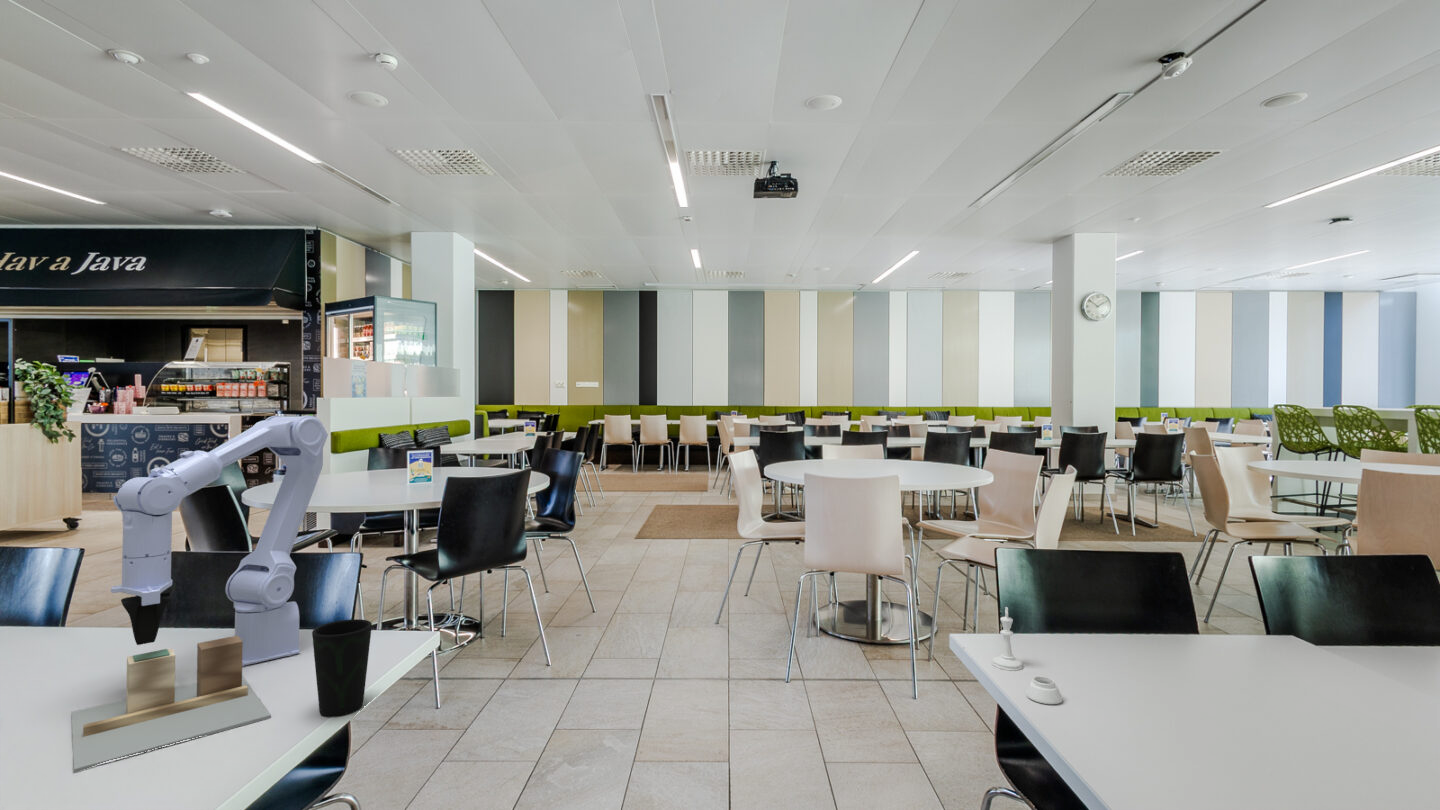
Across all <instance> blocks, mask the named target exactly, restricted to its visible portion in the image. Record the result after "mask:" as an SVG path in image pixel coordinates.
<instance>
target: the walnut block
mask: <svg viewBox="0 0 1440 810" xmlns="http://www.w3.org/2000/svg"><path fill="white" fill-rule="evenodd" d="M196 645H197V647H196V648H197V649H196V650H197V652H196V653H197V654H196V656H197V657H196V661H197V662H196V664H197V665H196V683H197V697H200V696H204V695H208V694H212V693H216V692H221V691H225V690H229V689H233V688H237V687H241V686H242V675H243V666H242V645H243V641H242V640H241V639H240V638H239V637H238V635H237V636H235V635H234V636H233V635H231V636H227V637H223V638H218V639H211V640H208V641H203V642H197V644H196Z"/></svg>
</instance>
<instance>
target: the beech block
mask: <svg viewBox="0 0 1440 810" xmlns="http://www.w3.org/2000/svg"><path fill="white" fill-rule="evenodd" d="M125 687H126V689H125V691H126V693H125V694H126V695H125V696H126V697H125V699H126V714H130V713H134V712H138V711H142V710H146V709H151V708H155V707H159V706H163V705H167V704H171V703H175V688H176V653H175V652H174V649H173V648H165V649H164V648H163V649H159V650H155V651H150V652H145V653H140V654H133V655H132V656H127V657H126V686H125Z"/></svg>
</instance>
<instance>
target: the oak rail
mask: <svg viewBox="0 0 1440 810" xmlns="http://www.w3.org/2000/svg"><path fill="white" fill-rule="evenodd" d="M247 695H248V687H247V686H246V685H245V686H241V687H237V688H233V689H229V690H225V691H221V692H216V693H212V694H208V695H204V696H200V697H196V698H192V699H188V700H184V701H179V702H175V703H171V704H167V705H163V706H159V707H155V708H151V709H146V710H142V711H138V712H134V713H130V714H126V715H122V716H118V717H114V718H109V719H105V720H101V721H97V722H93V723H89V724H85V725H83V737H85V736H89V735H93V734H97V733H101V732H105V731H109V730H113V729H117V728H120V727H124V726H128V725H132V724H136V723H140V722H144V721H148V720H152V719H156V718H160V717H164V716H168V715H172V714H176V713H180V712H184V711H188V710H192V709H196V708H200V707H204V706H208V705H212V704H215V703H219V702H223V701H227V700H231V699H235V698H239V697H243V696H247Z"/></svg>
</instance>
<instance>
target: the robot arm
mask: <svg viewBox="0 0 1440 810" xmlns="http://www.w3.org/2000/svg"><path fill="white" fill-rule="evenodd" d="M328 435H329V434H328V432H327V430H326V429H325V426H324V424H323V423H322V421H321V420H320V419H319V418H318V417H316V416H314V415H303V416H302V415H301V416H299V415H298V416H283V415H282V416H281V415H272V416H269V417H267V418H266V419H265V420H264V419H263V420H260V421H258V422H256V423H255V424H254V425H253V426H252V427H250V428H248V429H246V430H244V431H243V432H241V433H240V434H238V435H236V436H234V437H233V438H231V439H229V440H227V441H226V442H224V443H222V444H220V445H219V446H217V447H214V448H213V449H211V450H210V451H204V450H199V449H198V450H197V449H196V450H194V451H192V450H186V451H183V452H182V453H180V454H179V456H180V458H178V459H176V460H174V461H172V462H170V463H168V464H166V465H165V466H163V467H154V468H153V469H150V470H149V471H150V473H149V474H148V476H147V477H146V476H144V477H143V476H141V477H139V476H137V477H133V478H130V479H128V480H127V481H125V482H124V483H123V484H121V487H120V488H119V489H118V491H117V495H114V496H113V504H114V505H115V508H116V509H118V510H119V511H120V513H121V514H122V519H121V520H122V547H121V548H122V553H121V554H122V555H121V563H122V564H121V584H120V585H113V586H111V587H110V592H111V594H116V593H122V594H127V595H131V596H129V597H127V596H126V597H124V598H121V599H120V601H121V604H122V606H123V608H124V609H125V611H126V613H127V614H128V616H129V619H130V623H131V629H132V633H133V637H134V641H135V643H136V645H137V646H140V645H147V644H151V643H154V642H156V638H157V635H158V632H159V629H160V625H161V621H162V617H163V614H164V612H165V610H166V608H167V607H168V605H169V604H170V602H171V599H172V596H171V594H170V593H171V592H170V591H169V590H167V589H169V588H170V587H172V585H173V579H172V536H173V535H172V533H173V531H172V530H173V512H174V511H176V509H178V508H179V507H180V505H181V503H182V501H183V499H184V498H186V497H188V496H190V495H192V494H193V493H195V492H197V491H199V490H201V489H202V488H205V487H206V486H208V485H209V484H211V483H213V482H214V481H217V480H218V479H219V478H220V477H221V475H222V469H223V468H226V467H228V466H229V465H232V464H234V463H236V462H237V461H239V460H242V459H243V458H244V459H245V458H246V457H248V456H250V455H252V454H254V453H256V452H258V451H261V450H262V449H264V448H268V449H269V450H270V451H271V452H272V453H273V454H274V455H275V456H277V457H278V458H279V459H280V460H281V461H282V463H283V464H284V465H285V467H286V468H285V469H286V471H285V474H284V476H283V478H282V481H281V483H280V486H279V489H278V491H277V494H276V497H275V499H274V501H273V504H272V506H271V509H270V511H269V514H268V516H267V519H266V521H265V524H264V526H263V528H262V531H261V534H260V537H259V540H258V542H257V545H256V547H255V549H253V551H252V552H249V554H247V555H246V556H245V557H243V558H242V559H241V560H240V562H239V565H238V567H237V569H236V570H235V571H233V573H232V574H231V575H230V576H229V578H228V579H227V582H226V584H225V594H226V597H227V598H228V600H230V602H233V609H234V610H235V612H234V636H237V635H238V637H239V638H240V639H241V640H242V641H243V645H242V667H245V666H249V665H253V664H257V663H261V662H267V661H270V660H275V659H280V658H285V657H289V656H294V655H297V654H300V652H301V650H300V609H299V605H298V604H297V602H296V601H288V600H289V599H290V598H291V596H292V595H293V592H294V589H295V580H294V579H295V573H296V571H297V566H296V564H295V562H294V561H293V559H292V558H291V556H290V555H291V552H292V550H293V547H294V544H295V542H296V540H297V536H298V533H299V530H300V529H301V526H302V523H303V520H304V518H305V514H306V512H307V509H308V507H309V504H310V501H311V499H312V497H313V493H314V491H315V489H316V486H317V482H318V481H319V478H320V475H321V472H322V469H323V466H324V446H325V443H326V441H327V438H328ZM287 601H288V602H287Z"/></svg>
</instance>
